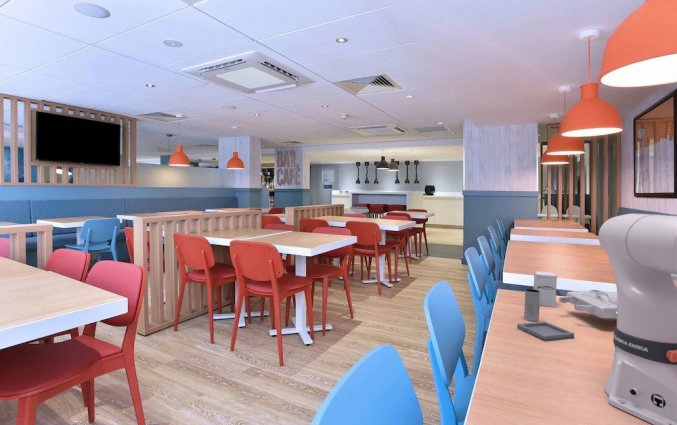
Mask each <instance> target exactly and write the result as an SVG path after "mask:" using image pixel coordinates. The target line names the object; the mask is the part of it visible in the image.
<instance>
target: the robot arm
mask: <svg viewBox="0 0 677 425" xmlns="http://www.w3.org/2000/svg"><path fill="white" fill-rule="evenodd" d="M598 242H599V244H600V247H601V248H602V249H603V250H604V252H605V253H606V255H607V257H608V260H609V262H610V265H611V266H610V267H611V270H612V273H613V277H614V281H615V285H616V291H606V290H605V291H602V290H598V289H589V291H588V290H579V291H578V290H577V291H575V290H574V291H568V292H567V293H566V296H560V297H559V298H558V301H559V302H560V303H562V304H567V303H569V304H571V305H573V306H574V310H575V311H577V312H585V313H589V314H592V315H593V316H596V317H598V318H601V319H616V325H615V326H614V327H613V328H614V329H613V345H614V353H613V360H612V364H611V369H610V372H609V375H608V378H607V381H606V383H605V385H604V390H605V393H606V395H607V396H608V404H609V405H611V406H613V407H615V408H617V409H619V410H621V411H624V412H626V413H628V414H631V415H632V416H635V417H636V418H639V419H641V420H643V421H645V422H648V423H650V424H652V425H677V285H676V283H675V282H674V281H677V215H667V214H666V215H664V214H651V213H650V214H649V213H625V214H621V215H617V216H613V217H611V218H609V219H607V220H605V221H604V222H603V223H602V225H601V227H600V228H599V230H598Z"/></svg>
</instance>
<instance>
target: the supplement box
mask: <svg viewBox="0 0 677 425" xmlns="http://www.w3.org/2000/svg"><path fill="white" fill-rule="evenodd" d="M533 272H534V274H533V289H535V290H539V291H540V302H539V306H544V307H549V306H550V307H551V308H556V303H557V283H558V281H557V280H558V275H557V274H556V273H555V272H549V271H537V270H535V271H533Z"/></svg>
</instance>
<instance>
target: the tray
mask: <svg viewBox="0 0 677 425" xmlns="http://www.w3.org/2000/svg"><path fill="white" fill-rule="evenodd" d="M516 328H517V329H518V330H520V331H521V332H524V333H526V334H527V335H530V336H532V337H534V338H537V339H539V340H541V341H543V342H550V341H552V342H553V341H560V340H561V341H562V340H571V339H575V332H572V331H570V330H567V329H564V328H563V327H559V326H557V325H555V324H552V323H550V322H548V321H537V322H526V323H517V327H516Z"/></svg>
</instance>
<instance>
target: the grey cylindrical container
mask: <svg viewBox="0 0 677 425" xmlns="http://www.w3.org/2000/svg"><path fill="white" fill-rule="evenodd" d="M539 302H540V291H539V290H535V289H534V288H526V289H525V290H524V308H523V310H524V313H523V314H524V315H523V318H524V320H526V321H528V322H532V323H534V322H540V321H539V320H540V305H539Z"/></svg>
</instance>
